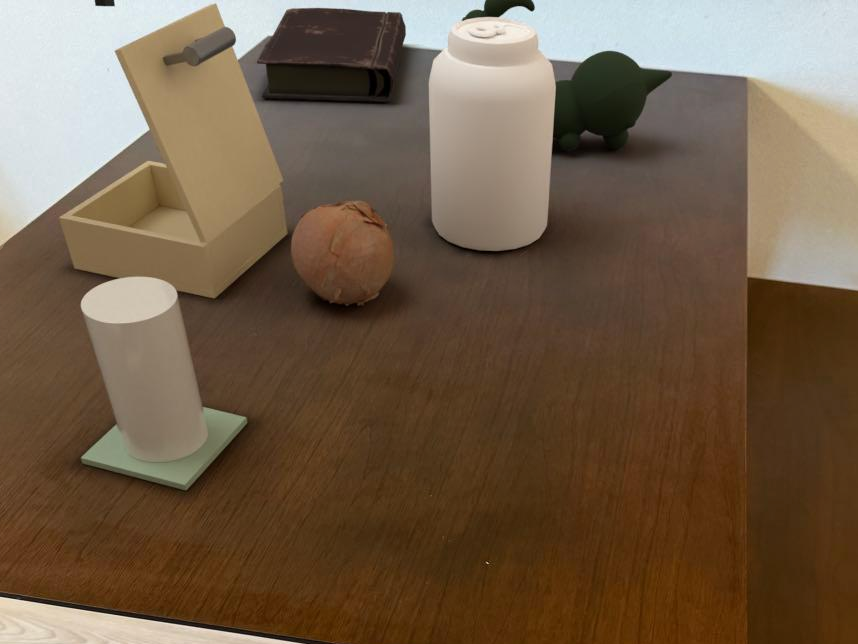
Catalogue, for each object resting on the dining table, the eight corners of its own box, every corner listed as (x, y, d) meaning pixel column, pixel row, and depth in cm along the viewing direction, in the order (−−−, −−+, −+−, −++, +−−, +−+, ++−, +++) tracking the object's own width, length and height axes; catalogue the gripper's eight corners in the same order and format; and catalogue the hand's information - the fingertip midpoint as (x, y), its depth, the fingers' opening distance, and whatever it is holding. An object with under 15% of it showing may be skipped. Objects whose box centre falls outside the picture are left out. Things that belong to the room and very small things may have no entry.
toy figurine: (473, 173, 119) (674, 157, 119) (459, 3, 106) (685, -14, 106) (471, 143, 126) (661, 128, 126) (457, -20, 113) (670, -36, 113)
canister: (105, 451, 74) (60, 312, 65) (153, 405, 78) (117, 269, 70) (179, 470, 72) (142, 330, 64) (223, 422, 77) (195, 286, 68)
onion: (379, 309, 97) (417, 216, 93) (361, 335, 89) (402, 233, 84) (291, 268, 96) (325, 171, 91) (264, 290, 87) (300, 184, 83)
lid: (113, 50, 78) (157, 41, 76) (210, 4, 88) (250, -5, 86) (200, 243, 88) (240, 238, 86) (278, 181, 98) (315, 176, 96)
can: (461, 263, 99) (461, 54, 85) (413, 213, 106) (406, 14, 93) (568, 241, 103) (584, 39, 89) (514, 194, 111) (521, 2, 97)
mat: (82, 463, 73) (80, 457, 73) (150, 399, 80) (148, 393, 79) (186, 490, 72) (184, 484, 71) (247, 423, 78) (246, 417, 77)
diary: (406, 46, 148) (405, 10, 145) (395, 104, 130) (393, 65, 127) (284, 41, 148) (280, 5, 144) (255, 100, 130) (250, 60, 126)
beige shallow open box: (74, 268, 95) (58, 217, 91) (158, 208, 105) (147, 160, 101) (214, 298, 92) (204, 246, 88) (287, 233, 102) (281, 184, 98)
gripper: (151, -322, 70) (188, 9, 81) (-212, -348, 68) (-127, -4, 78) (123, -356, 64) (167, 9, 74) (-279, -385, 62) (-177, -5, 72)
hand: (16, 3), depth 76 cm, fingers open, 13 cm apart
